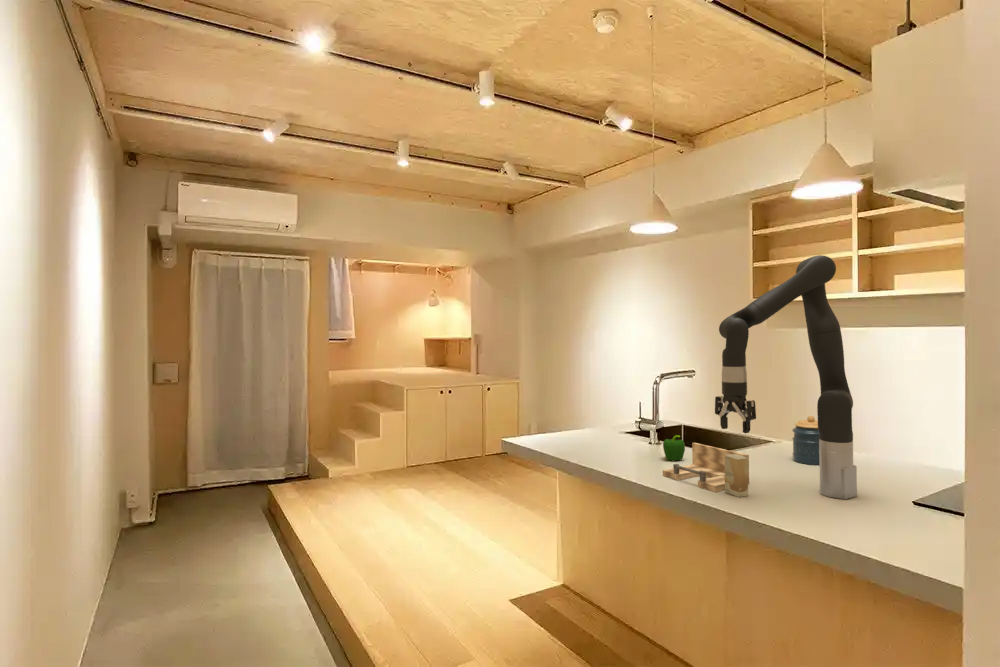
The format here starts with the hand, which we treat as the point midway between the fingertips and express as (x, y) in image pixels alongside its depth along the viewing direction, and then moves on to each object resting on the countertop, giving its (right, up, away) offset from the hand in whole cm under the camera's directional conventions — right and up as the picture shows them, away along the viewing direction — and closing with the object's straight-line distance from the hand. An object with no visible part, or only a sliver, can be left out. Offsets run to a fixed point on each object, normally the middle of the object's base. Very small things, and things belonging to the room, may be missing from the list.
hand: (735, 430), depth 186 cm
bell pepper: (-6, -20, +46) cm, 51 cm away
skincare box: (+1, -21, 0) cm, 21 cm away
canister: (+45, -18, +38) cm, 62 cm away
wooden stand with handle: (-4, -20, +17) cm, 26 cm away
